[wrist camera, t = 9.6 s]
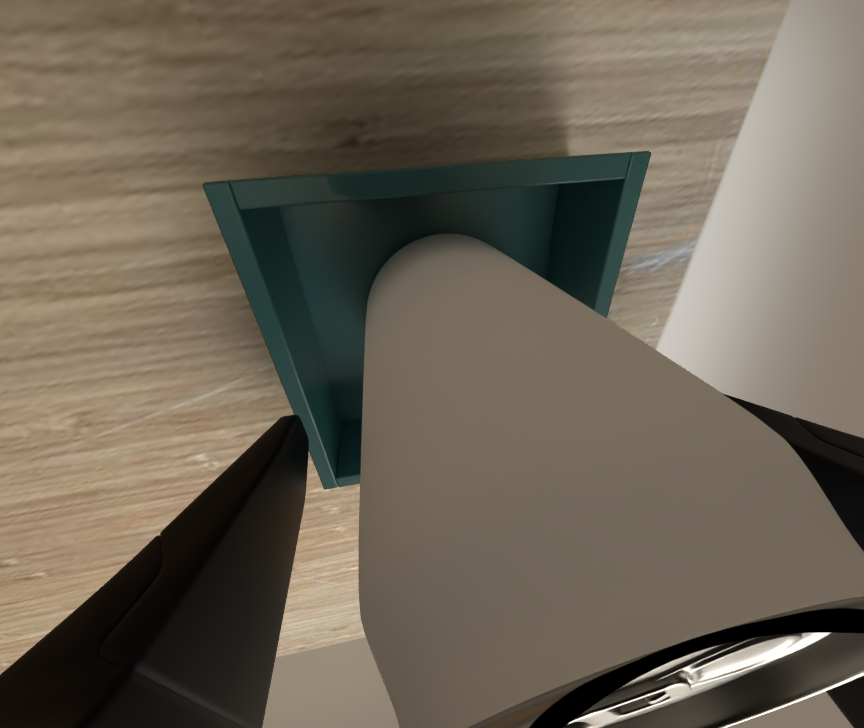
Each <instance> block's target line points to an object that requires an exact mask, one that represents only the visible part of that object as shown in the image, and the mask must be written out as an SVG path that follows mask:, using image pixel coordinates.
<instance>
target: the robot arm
mask: <svg viewBox="0 0 864 728" xmlns="http://www.w3.org/2000/svg"><path fill="white" fill-rule="evenodd" d="M724 395H725V394H724ZM725 396H726V397H728V398H729V399H731V400H732V401H734V402H735V403H737V404H738V405H740V406H741V407H743V408H744V409H746V410H747V411H748V412H750V413H751V414H753V415H754V416H756V417H757V418H758V419H760V420H761V421H762V422H763V423H765V424H766V425H767V426H769V427H770V428H771V429H772V430H774V431H775V432H776V433H777V434H779V435H780V436H781V437H782V438H784V439H785V440H786V441H787V442H788V444H789V445H790V446H791V447H792V448H793V450H794V451H795V452H796V453H797V454H798V456H799V457H800V458H801V460H802V461H803V462H804V464H805V465H806V467H807V468H808V469H809V471H810V472H811V474H812V475H813V477H814V478H815V480H816V481H817V483H818V484H819V486H820V487H821V489H822V491H823V492H824V494H825V495H826V497H827V498H828V500H829V502H830V503H831V505H832V506H833V508H834V510H835V511H836V513H837V514H838V516H839V517H840V519H841V521H842V522H843V524H844V525H845V527H846V528H847V530H848V531H849V532H850V534H851V535H852V537H853V538H854V540H855V541H856V542H857V544H858V545H859V546H860V548H861V549H862V550H863V551H864V438H861V437H857V436H854V435H851V434H847V433H844V432H841V431H838V430H834V429H831V428H828V427H825V426H822V425H818V424H816V423H812V422H809V421H806V420H803V419H799V418H794V417H792V416H790V415H787V414H784V413H781V412H778V411H775V410H772V409H769V408H766V407H763V406H759V405H756V404H753V403H750V402H747V401H744V400H741V399H738V398H734V397H731V396H728V395H725ZM308 451H309V440H308V436H307V433H306V431H305V428H304V426H303V423H302V420H301V418H300V417H299V416H298V415H290V416H284V417H281V418H280V419H279V420H278V421H277V422H276V423H275V424H274V425H273V426H272V427H270V428H269V429H268V430H267V431H266V432H265V433H264V434H263V435H262V436H261V437H260V438H259V439H258V440H257V441H256V442H255V443H254V444H253V445H252V446H251V447H250V448H248V449H247V450H246V451H245V452H244V453H243V454H242V455H241V456H240V457H239V458H238V459H237V460H236V461H235V462H234V463H233V464H232V465H231V466H230V467H229V468H228V469H226V470H225V471H224V472H223V473H222V474H221V475H220V476H219V477H218V478H217V479H216V480H215V481H214V482H213V483H212V484H211V485H210V486H209V487H208V488H207V489H206V490H204V491H203V492H202V493H201V494H200V495H199V496H198V497H197V498H196V499H195V500H194V501H193V502H192V503H191V504H190V505H189V506H188V507H187V508H186V509H185V510H184V511H182V512H181V513H180V514H179V515H178V516H177V517H176V518H175V519H174V520H173V521H172V522H171V523H170V524H169V525H168V526H167V527H166V528H165V529H164V530H163V531H162V532H161V534H160V536H156V537H155V538H154V539H153V540H152V541H151V542H150V543H149V544H148V545H147V546H146V547H145V548H144V549H142V550H141V551H140V552H139V553H138V554H137V555H136V556H135V557H134V558H133V559H132V560H131V561H130V562H129V563H127V564H126V565H125V566H124V567H123V568H122V569H121V570H120V571H119V572H118V573H117V574H116V575H115V576H113V577H112V578H111V579H110V580H109V581H108V582H107V583H106V584H105V585H104V586H102V587H101V588H100V589H99V590H98V591H97V592H96V593H94V594H93V595H92V596H91V597H90V598H89V599H88V600H86V601H85V602H84V603H83V604H82V605H81V606H80V607H78V608H77V609H76V610H75V611H74V612H73V613H72V614H71V615H69V616H68V617H67V618H66V619H65V620H64V621H62V622H61V623H60V624H59V625H58V626H57V627H55V628H54V629H53V630H52V631H51V632H50V633H48V634H47V635H46V636H45V637H44V638H43V639H41V640H40V641H39V642H38V643H37V644H36V645H34V646H33V647H32V648H31V649H30V650H29V651H28V652H26V653H25V654H24V655H23V656H22V657H21V658H19V659H18V660H17V661H16V662H15V663H14V664H12V665H11V666H10V667H9V668H8V669H7V670H5V671H4V672H3V673H2V674H1V675H0V728H262V725H263V720H264V715H265V709H266V704H267V699H268V694H269V688H270V683H271V678H272V672H273V667H274V662H275V657H276V651H277V646H278V641H279V635H280V630H281V625H282V620H283V614H284V609H285V604H286V598H287V593H288V588H289V582H290V577H291V572H292V567H293V561H294V556H295V551H296V545H297V540H298V535H299V530H300V524H301V519H302V514H303V508H304V502H305V494H306V480H307V466H308ZM826 692H827V693H828V695H829V696H830V697H831V699H832V700H833V701H834V703H835V704H836V705H837V707H838V708H839V709H840V710H841V712H842V713H843V714H844V716H845V717H846V718H847V720H848V721H849V722H850V724H851V725H852V726H853V727H854V728H864V676H862V677H860V678H857V679H855V680H853V681H850V682H848V683H845V684H843V685H840V686H838V687H835V688H832V689H830V690H827V691H826Z"/></svg>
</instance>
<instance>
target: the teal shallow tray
mask: <svg viewBox="0 0 864 728" xmlns="http://www.w3.org/2000/svg"><path fill="white" fill-rule="evenodd" d="M650 155H651V152H649V151H642V152H626V153H610V154H595V155H579V156H564V157H549V158H535V159H521V160H507V161H493V162H478V163H464V164H450V165H436V166H422V167H407V168H393V169H379V170H365V171H351V172H336V173H322V174H308V175H294V176H279V177H265V178H252V179H240V180H228V181H216V182H205V183H203V188H204V191H205V193H206V196H207V198H208V201H209V203H210V206H211V208H212V211H213V213H214V216H215V218H216V221H217V223H218V226H219V228H220V230H221V233H222V235H223V238H224V240H225V243H226V245H227V248H228V250H229V253H230V255H231V258H232V260H233V263H234V265H235V268H236V270H237V273H238V275H239V278H240V280H241V283H242V285H243V288H244V290H245V293H246V295H247V298H248V300H249V303H250V305H251V308H252V310H253V313H254V315H255V318H256V320H257V323H258V325H259V328H260V330H261V333H262V335H263V338H264V340H265V343H266V345H267V348H268V350H269V353H270V355H271V358H272V360H273V363H274V365H275V368H276V370H277V373H278V375H279V378H280V380H281V383H282V385H283V388H284V390H285V393H286V395H287V398H288V400H289V403H290V405H291V408H292V410H293V412H294V415H298V416H299V417H300V418H301V420H302V423H303V426H304V428H305V431H306V433H307V436H308V440H309V452H310V455H311V457H312V460H313V462H314V465H315V467H316V470H317V472H318V475H319V477H320V480H321V482H322V485H323V487H324V489H331V488H337V487H338V486H339V487H343V486H348V485H354V484H359V483H360V473H361V440H362V409H363V379H364V352H365V327H366V311H367V302H368V297H369V293H370V290H371V287H372V284H373V282H374V280H375V278H376V276H377V274H378V273H379V271H380V270H381V268H382V267H383V265H384V264H385V263H386V262H387V261H388V260H389V259H390V258H391V257H392V256H393V255H394V254H395V253H396V252H397V251H399V250H400V249H402V248H403V247H405V246H406V245H408V244H410V243H412V242H414V241H416V240H418V239H421V238H424V237H427V236H431V235H436V234H446V233H452V234H461V235H466V236H470V237H473V238H476V239H478V240H481V241H483V242H485V243H487V244H488V245H490V246H492V247H494V248H495V249H497V250H499V251H500V252H502V253H504V254H505V255H507V256H508V257H510V258H512V259H513V260H515V261H516V262H518V263H520V264H521V265H523V266H524V267H526V268H528V269H529V270H531V271H532V272H534V273H535V274H537V275H539V276H540V277H542V278H543V279H545V280H547V281H548V282H550V283H551V284H553V285H554V286H556V287H558V288H559V289H561V290H562V291H564V292H565V293H567V294H569V295H570V296H572V297H573V298H575V299H576V300H578V301H580V302H581V303H583V304H584V305H586V306H588V307H589V308H591V309H592V310H594V311H595V312H597V313H599V314H600V315H602V316H603V317H605V318H607V315H608V311H609V307H610V304H611V300H612V296H613V292H614V289H615V285H616V281H617V278H618V274H619V270H620V266H621V263H622V259H623V255H624V252H625V248H626V244H627V241H628V237H629V233H630V229H631V226H632V222H633V218H634V215H635V211H636V207H637V204H638V200H639V196H640V192H641V189H642V185H643V181H644V178H645V174H646V170H647V167H648V163H649V159H650Z"/></svg>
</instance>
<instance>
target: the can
mask: <svg viewBox="0 0 864 728" xmlns="http://www.w3.org/2000/svg"><path fill="white" fill-rule="evenodd" d="M359 601H360V614H361V620H362V624H363V628H364V631H365V635H366V638H367V640H368V643H369V646H370V649H371V652H372V654H373V657H374V659H375V662H376V664H377V667H378V670H379V672H380V674H381V677H382V679H383V682H384V684H385V686H386V689H387V692H388V694H389V696H390V699H391V702H392V704H393V707H394V710H395V713H396V716H397V719H398V723H399V727H400V728H726V727H729V726H732V725H735V724H738V723H741V722H743V721H746V720H749V719H752V718H754V717H758V716H760V715H763V714H766V713H768V712H771V711H774V710H777V709H779V708H782V707H785V706H788V705H790V704H793V703H796V702H799V701H801V700H803V699H806V698H809V697H812V696H814V695H817V694H819V693H822V692H825V691H827V690H830V689H832V688H835V687H838V686H840V685H843V684H845V683H848V682H850V681H853V680H855V679H857V678H860V677H862V676H864V551H863V550H862V549H861V548H860V546H859V545H858V544H857V542H856V541H855V540H854V538H853V537H852V535H851V534H850V532H849V531H848V530H847V528H846V527H845V525H844V524H843V522H842V521H841V519H840V517H839V516H838V514H837V513H836V511H835V510H834V508H833V506H832V505H831V503H830V502H829V500H828V498H827V497H826V495H825V494H824V492H823V491H822V489H821V487H820V486H819V484H818V483H817V481H816V480H815V478H814V477H813V475H812V474H811V472H810V471H809V469H808V468H807V467H806V465H805V464H804V462H803V461H802V460H801V458H800V457H799V456H798V454H797V453H796V452H795V451H794V450H793V448H792V447H791V446H790V445H789V444H788V442H787V441H786V440H785V439H784V438H782V437H781V436H780V435H779V434H777V433H776V432H775V431H774V430H772V429H771V428H770V427H769V426H767V425H766V424H765V423H763V422H762V421H761V420H760V419H758V418H757V417H756V416H754V415H753V414H751V413H750V412H748V411H747V410H746V409H744V408H743V407H741V406H740V405H738V404H737V403H735V402H734V401H732V400H731V399H729V398H728V397H726V396H725V395H724V394H722V393H721V392H719V391H718V390H716V389H715V388H713V387H712V386H710V385H709V384H707V383H705V382H704V381H702V380H701V379H699V378H698V377H696V376H695V375H693V374H692V373H690V372H689V371H687V370H686V369H684V368H682V367H681V366H679V365H678V364H676V363H675V362H673V361H672V360H670V359H669V358H667V357H665V356H664V355H662V354H661V353H659V352H658V351H656V350H655V349H653V348H652V347H650V346H648V345H647V344H645V343H644V342H642V341H641V340H639V339H638V338H636V337H634V336H633V335H631V334H630V333H628V332H627V331H625V330H623V329H622V328H620V327H619V326H617V325H616V324H614V323H613V322H611V321H609V320H608V319H606V318H605V317H603V316H602V315H600V314H599V313H597V312H595V311H594V310H592V309H591V308H589V307H588V306H586V305H584V304H583V303H581V302H580V301H578V300H576V299H575V298H573V297H572V296H570V295H569V294H567V293H565V292H564V291H562V290H561V289H559V288H558V287H556V286H554V285H553V284H551V283H550V282H548V281H547V280H545V279H543V278H542V277H540V276H539V275H537V274H535V273H534V272H532V271H531V270H529V269H528V268H526V267H524V266H523V265H521V264H520V263H518V262H516V261H515V260H513V259H512V258H510V257H508V256H507V255H505V254H504V253H502V252H500V251H499V250H497V249H495V248H494V247H492V246H490V245H488V244H487V243H485V242H483V241H481V240H478V239H476V238H473V237H470V236H466V235H461V234H452V233H446V234H436V235H431V236H427V237H424V238H421V239H418V240H416V241H414V242H412V243H410V244H408V245H406V246H405V247H403V248H402V249H400V250H399V251H397V252H396V253H395V254H394V255H393V256H392V257H391V258H390V259H389V260H388V261H387V262H386V263H385V264H384V265H383V267H382V268H381V270H380V271H379V273H378V274H377V276H376V278H375V280H374V282H373V284H372V287H371V290H370V293H369V297H368V302H367V311H366V327H365V352H364V379H363V409H362V440H361V473H360V512H359Z"/></svg>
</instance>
